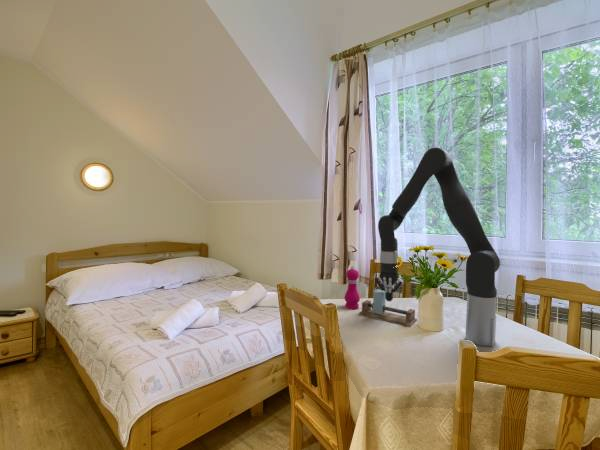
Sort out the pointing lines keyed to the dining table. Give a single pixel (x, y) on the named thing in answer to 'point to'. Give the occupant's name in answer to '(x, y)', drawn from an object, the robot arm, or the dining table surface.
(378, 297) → the sleeve
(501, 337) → the dining table surface
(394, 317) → the rail
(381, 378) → the dining table surface
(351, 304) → the pepper mill
